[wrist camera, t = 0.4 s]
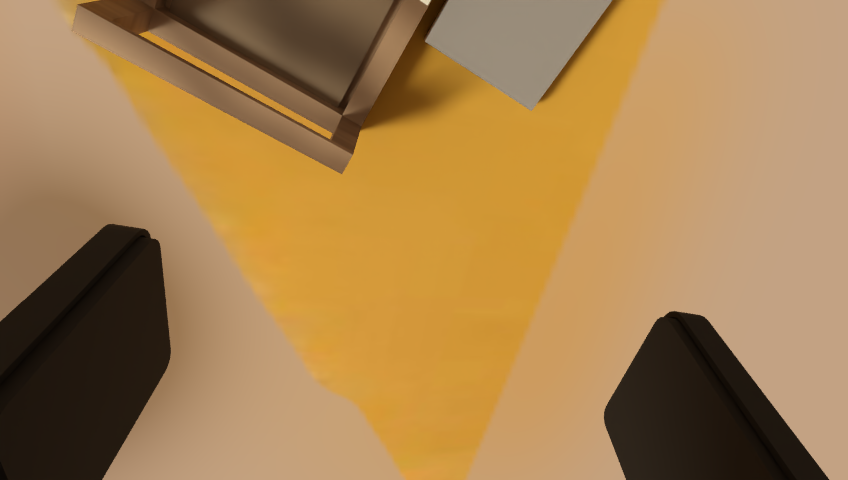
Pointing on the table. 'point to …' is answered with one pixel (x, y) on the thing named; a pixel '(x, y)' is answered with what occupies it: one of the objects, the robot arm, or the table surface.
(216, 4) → the wooden frame crate
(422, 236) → the table surface
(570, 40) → the trivet
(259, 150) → the table surface
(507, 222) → the table surface
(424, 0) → the lid
